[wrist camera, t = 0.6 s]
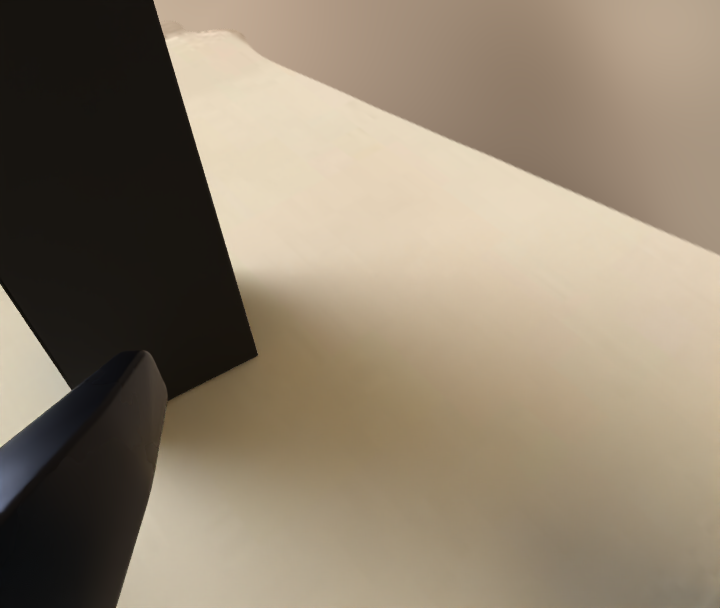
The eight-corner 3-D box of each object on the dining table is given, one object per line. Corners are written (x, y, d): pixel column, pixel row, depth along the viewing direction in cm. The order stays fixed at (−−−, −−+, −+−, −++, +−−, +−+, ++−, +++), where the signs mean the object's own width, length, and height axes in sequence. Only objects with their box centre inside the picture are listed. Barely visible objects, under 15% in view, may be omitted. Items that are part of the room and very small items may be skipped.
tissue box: (261, 358, 30) (-61, -745, 10) (101, 439, 27) (-763, -830, 7) (200, 269, 35) (-99, -594, 15) (59, 330, 32) (-531, -613, 12)
